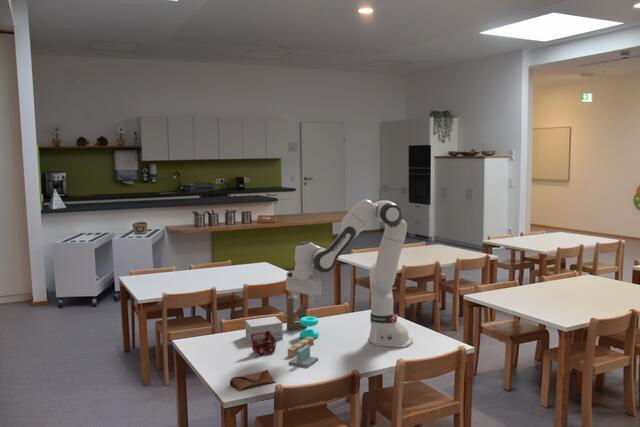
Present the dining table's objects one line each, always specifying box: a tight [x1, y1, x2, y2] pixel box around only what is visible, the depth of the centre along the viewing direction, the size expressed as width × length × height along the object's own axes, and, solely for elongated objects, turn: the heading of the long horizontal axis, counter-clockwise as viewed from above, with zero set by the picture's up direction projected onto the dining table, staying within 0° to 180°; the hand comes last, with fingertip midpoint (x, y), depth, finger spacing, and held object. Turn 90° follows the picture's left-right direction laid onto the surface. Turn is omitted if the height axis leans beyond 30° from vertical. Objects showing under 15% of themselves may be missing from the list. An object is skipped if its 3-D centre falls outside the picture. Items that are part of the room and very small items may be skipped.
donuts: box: [298, 315, 320, 340], centre depth 301 cm, size 10×10×10 cm
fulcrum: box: [288, 345, 319, 369], centre depth 264 cm, size 10×10×7 cm
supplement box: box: [244, 316, 284, 345], centre depth 301 cm, size 17×13×9 cm
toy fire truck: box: [251, 331, 277, 357], centre depth 279 cm, size 7×12×10 cm, turn 118°
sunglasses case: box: [229, 369, 276, 392], centre depth 241 cm, size 18×7×7 cm
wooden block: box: [286, 296, 308, 331], centre depth 315 cm, size 4×11×18 cm, turn 112°
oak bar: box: [287, 337, 315, 358], centre depth 281 cm, size 20×4×4 cm, turn 153°
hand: (303, 302), depth 283 cm, fingers open, 8 cm apart
